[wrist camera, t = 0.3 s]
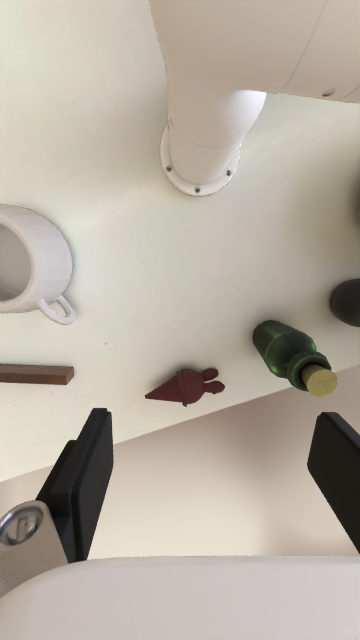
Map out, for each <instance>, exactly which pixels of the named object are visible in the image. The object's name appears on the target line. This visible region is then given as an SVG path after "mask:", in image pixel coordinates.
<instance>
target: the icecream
mask: <svg viewBox="0 0 360 640" xmlns="http://www.w3.org/2000/svg"><path fill="white" fill-rule="evenodd" d="M176 372H177V375H176V376H175V377H173V378H172V379H170V380H168V381H167V382H165V383H164V384H162V385H161V386H159V387H158V388H156V389H154V390H153V391H151V392H149V393H148V394H146V395H145V398H147V399H155V400H164V401H173V402H183V403H182V405H184V406H185V407H186V406H187V404H191V403H195V402H197V401H198V400H199V399H200V398H201V397H202V395H203V394H204V393H205V392H208V393H212V394H216V393H219V392H222V391H223V390H224V388H225V385H224V384H223V383H221V382H220V381H213V382H209V383H206V384H205V383H204V381H208V380H212V379H214V378H215V377H217V376H218V371H217V370H216V369H208V370H206V371H204V372H202V373H201V374H199V373H197V372H195V371H192V370H182V371H181V372H179V371H178V370H177V371H176Z"/></svg>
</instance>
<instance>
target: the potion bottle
mask: <svg viewBox="0 0 360 640" xmlns="http://www.w3.org/2000/svg"><path fill="white" fill-rule="evenodd" d="M253 343H254V345H255V346H256V348H257V350H258V351H259V353H260V355H261V356H262V358H263V360H264V361H265V363H266V365H267V366H268V368H269V370H270V371H271V373H273V374H274V375H276V376H277V377H281V378H286V379H288V380H289V382H290V383H291V385H293V386H294V387H296V388H298V389H300V390H303V391H308V392H310V393H311V394H312V395H314V396H317V397H322V396H326V395H328V394H330V393H332V391H333V390H334V389H335V388H336V385H337V377H336V375H335V373H333V372H332V371H331V366H330V364H329V362H328V361H327V359H326V357H325V356H324V355H322V354H321V353H319V352H316V346H315V344H314V342H313V340H312V338H310V337H309V336H308V335H306V334H305V333H303V332H301V331H298V330H296V329H294V328H292V327H289V326H287V325H285V324H282V323H280V322H278V321H273V320H269V321H264V322H263V323H261V324H259V325H258V326H257V328H256V329H255V330H254V333H253Z"/></svg>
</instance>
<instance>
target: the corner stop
mask: <svg viewBox="0 0 360 640" xmlns="http://www.w3.org/2000/svg"><path fill="white" fill-rule="evenodd" d="M73 376H74V370H73V367H61V366H38V365H15V364H0V382H6V383H30V384H54V385H67V384H68V383H69V381H70V380H71V379H72V378H73Z"/></svg>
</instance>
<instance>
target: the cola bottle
mask: <svg viewBox="0 0 360 640" xmlns="http://www.w3.org/2000/svg"><path fill="white" fill-rule="evenodd" d="M331 306H332V310H333V312H334V314H335V315H336V316H337V317H338V318H339V319H340V320H341V321H343V322H344V323H346V324H348V325H351V326H356V327H360V279H354V280H350V281H347V282H345V283H343V284H342V285H341V286H339V287H338V288H337V290H336V291H335V292H334V294H333V297H332V301H331Z"/></svg>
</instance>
